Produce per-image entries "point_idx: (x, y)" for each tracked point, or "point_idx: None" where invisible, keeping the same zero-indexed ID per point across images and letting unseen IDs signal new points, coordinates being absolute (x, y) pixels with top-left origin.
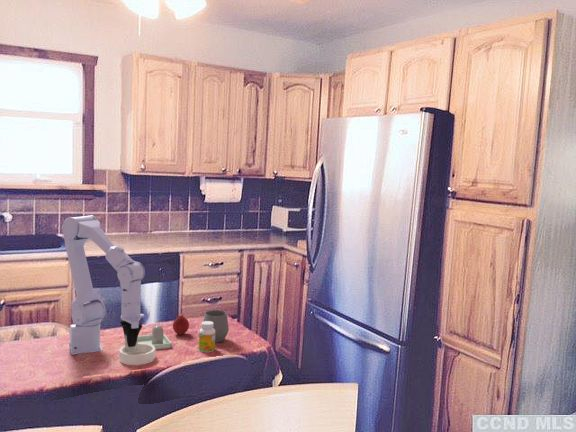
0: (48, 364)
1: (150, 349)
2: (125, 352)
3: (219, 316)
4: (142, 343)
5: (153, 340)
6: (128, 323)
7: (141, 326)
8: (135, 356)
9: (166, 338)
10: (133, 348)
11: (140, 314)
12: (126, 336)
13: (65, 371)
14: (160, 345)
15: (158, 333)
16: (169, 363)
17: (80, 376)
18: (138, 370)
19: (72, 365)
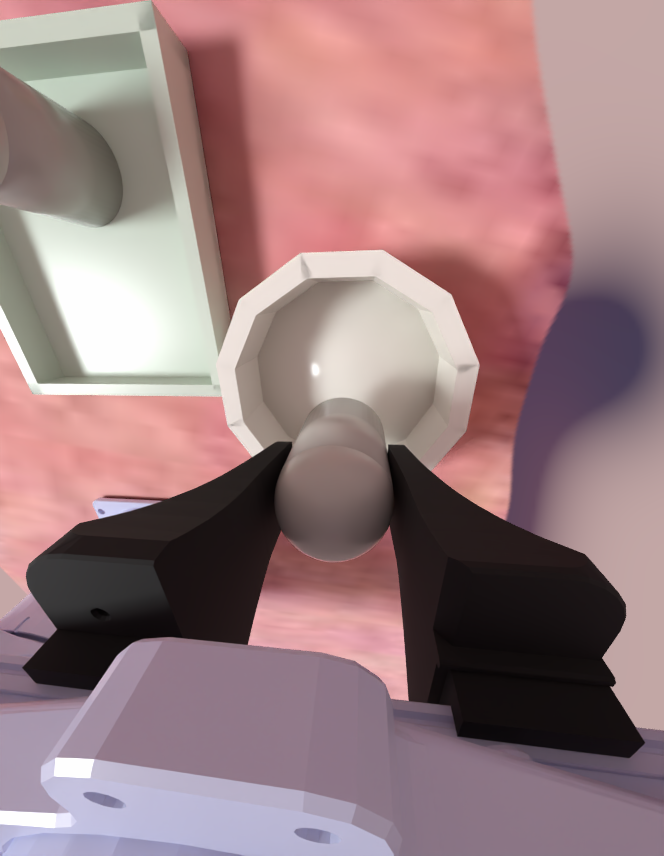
0: (290, 641)
1: (306, 284)
2: (279, 438)
3: None
4: (228, 338)
5: (83, 209)
6: (224, 621)
7: (615, 589)
8: (460, 431)
9: (10, 42)
10: (385, 442)
11: (189, 842)
12: (400, 568)
13: (371, 620)
14: (185, 162)
15: (13, 122)
16: (505, 160)
17: None
18: (507, 401)
19: (322, 599)
